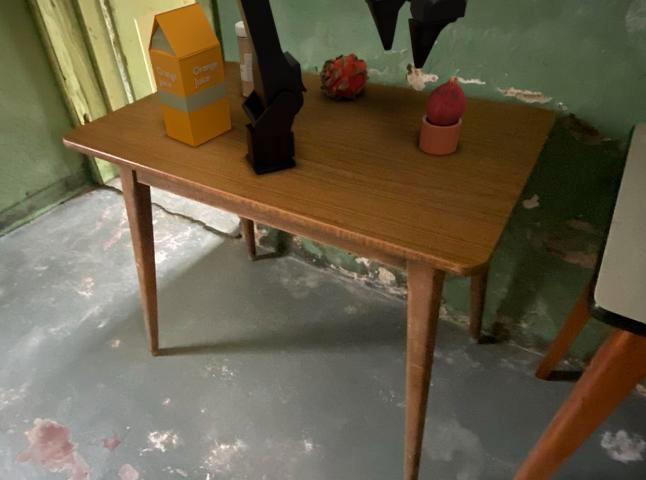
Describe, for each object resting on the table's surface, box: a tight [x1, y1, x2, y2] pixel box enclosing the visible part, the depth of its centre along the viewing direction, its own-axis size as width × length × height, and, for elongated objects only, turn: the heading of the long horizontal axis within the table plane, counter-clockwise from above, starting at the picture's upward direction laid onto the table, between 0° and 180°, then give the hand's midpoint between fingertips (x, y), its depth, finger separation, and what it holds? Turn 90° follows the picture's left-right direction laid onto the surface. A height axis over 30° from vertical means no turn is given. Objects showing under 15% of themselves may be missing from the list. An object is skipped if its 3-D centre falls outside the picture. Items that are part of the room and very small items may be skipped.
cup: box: [418, 114, 463, 156], centre depth 77 cm, size 6×6×4 cm
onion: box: [425, 75, 467, 127], centre depth 74 cm, size 6×6×8 cm
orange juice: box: [147, 1, 232, 148], centre depth 81 cm, size 8×9×20 cm
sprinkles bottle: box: [234, 20, 254, 98], centre depth 95 cm, size 5×5×13 cm
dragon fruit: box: [319, 53, 370, 101], centre depth 94 cm, size 8×8×12 cm
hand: (402, 58), depth 73 cm, fingers open, 9 cm apart
